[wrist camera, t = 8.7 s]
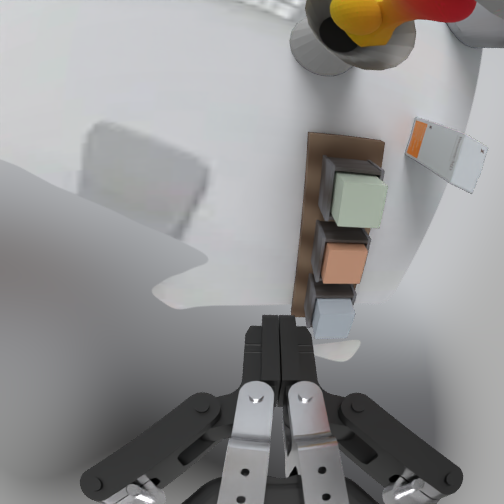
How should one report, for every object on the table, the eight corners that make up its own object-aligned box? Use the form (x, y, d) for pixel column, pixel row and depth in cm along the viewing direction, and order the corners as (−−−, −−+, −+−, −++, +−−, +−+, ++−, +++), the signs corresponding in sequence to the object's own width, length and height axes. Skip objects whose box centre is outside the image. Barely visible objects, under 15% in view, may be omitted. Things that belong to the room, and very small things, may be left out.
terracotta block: (320, 226, 38) (329, 250, 33) (355, 228, 38) (367, 251, 33) (316, 257, 41) (323, 283, 36) (348, 258, 41) (359, 283, 35)
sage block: (331, 166, 32) (343, 182, 27) (369, 170, 32) (387, 186, 27) (326, 204, 35) (337, 226, 29) (363, 206, 34) (379, 228, 29)
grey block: (314, 286, 41) (320, 314, 36) (346, 286, 41) (355, 313, 36) (310, 310, 44) (314, 338, 39) (339, 310, 44) (347, 337, 39)
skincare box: (414, 115, 30) (466, 131, 20) (437, 126, 31) (490, 147, 20) (402, 155, 33) (449, 184, 23) (425, 164, 34) (473, 195, 24)
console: (308, 132, 33) (317, 140, 28) (380, 140, 33) (401, 151, 27) (290, 311, 49) (293, 339, 43) (345, 310, 49) (352, 337, 43)
